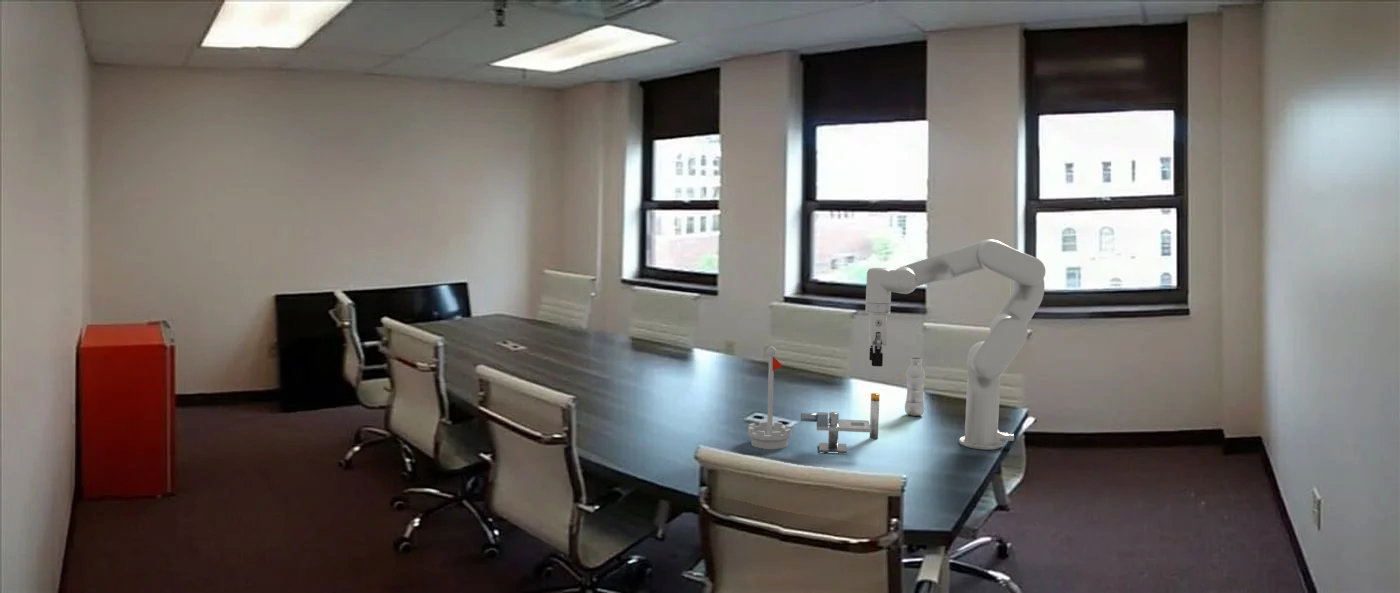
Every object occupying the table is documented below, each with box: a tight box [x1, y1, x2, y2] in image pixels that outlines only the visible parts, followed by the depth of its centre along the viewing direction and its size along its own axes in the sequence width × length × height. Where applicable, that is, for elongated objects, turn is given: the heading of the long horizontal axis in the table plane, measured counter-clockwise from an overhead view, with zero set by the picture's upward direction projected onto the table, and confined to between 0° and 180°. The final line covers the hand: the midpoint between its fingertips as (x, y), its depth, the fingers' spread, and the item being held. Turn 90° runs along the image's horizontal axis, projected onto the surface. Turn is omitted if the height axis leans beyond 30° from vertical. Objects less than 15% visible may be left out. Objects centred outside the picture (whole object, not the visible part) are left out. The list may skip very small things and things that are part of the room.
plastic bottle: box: [904, 357, 926, 417], centre depth 307 cm, size 6×7×20 cm
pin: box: [869, 392, 881, 440], centre depth 277 cm, size 3×3×14 cm
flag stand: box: [747, 346, 792, 450], centre depth 268 cm, size 13×13×30 cm
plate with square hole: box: [800, 411, 871, 454], centre depth 264 cm, size 20×10×11 cm, turn 83°
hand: (875, 363), depth 275 cm, fingers open, 9 cm apart
